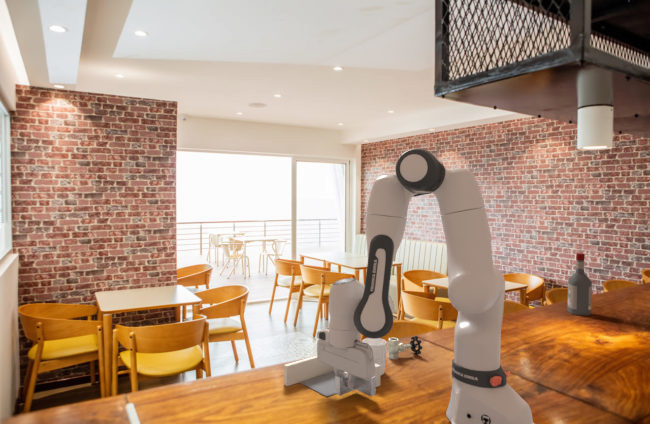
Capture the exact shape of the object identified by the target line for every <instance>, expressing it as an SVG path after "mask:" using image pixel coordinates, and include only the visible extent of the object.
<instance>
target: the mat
mask: <svg viewBox="0 0 650 424" xmlns="http://www.w3.org/2000/svg"><path fill="white" fill-rule="evenodd" d="M342 373H343V372H342ZM300 384H301V385H303V386H305V387H307V388H309V389H310V390H313V391H314V392H316V393H318V394H319V395H322V396H324V397H326V398H328V397H331V396H334V395H336V394H335V372H334V371H332V372H329V373H326V374H323V375H320V376H317V377H314V378H311V379H308V380H305V381H302V382H300Z"/></svg>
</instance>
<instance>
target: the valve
mask: <svg viewBox="0 0 650 424" xmlns="http://www.w3.org/2000/svg"><path fill="white" fill-rule="evenodd" d="M421 344H422V340H421V339H419V336H418V335H414V336H411V340H410V341H409V343H405V344H404V343H403V342H399V338H397V337H388V343H387V346H386V350H387V352H388V359H389V360H390V359H391V360H398V359H399V353H401V352H402V353H403V352H404V351H405V350H411V351H412V352H413V354H414V355H421V354H422V351H421V350H423V346H422V345H421Z"/></svg>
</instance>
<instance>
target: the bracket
mask: <svg viewBox="0 0 650 424" xmlns="http://www.w3.org/2000/svg"><path fill="white" fill-rule="evenodd" d="M348 379H349V377H348V373H346V372H343V373H341V374H338V375H335V394H334V395H338V396H342V395H343V396H344V395H346V394H348V393H349V392H353V391H355V390H356V391H358V392H360V393H362V394H363V395H366V396H369V397H373V396H376V394H377V387H376V376H374V377H372V378H370V379H367V380H364V379H362V378H359V377H357V376H356V378H355V380H354V386H353V388H351V389H349V388H347V387H346V386H345V385H346V384H345V381H348Z"/></svg>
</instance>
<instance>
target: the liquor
mask: <svg viewBox="0 0 650 424" xmlns="http://www.w3.org/2000/svg"><path fill="white" fill-rule="evenodd" d="M575 256H576V257H575V260H576V266H575V267H576V268H575V272H574V273H573V274H572V275H570V276H569V278H568V279H567V280H568V281H567V306H566V307H567V308H566V309H567V312H568V313H570V315H575V316H586V317H589V316H591V314H592V298H593V297H592V294H593V293H592V291H593V289H592V288H593V283H592V280H591V279H590V277H589V276H587V274H586V272H585V259H586V258H585V257H586V255H585V253H580V252H579V253H577V252H576V255H575Z"/></svg>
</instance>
